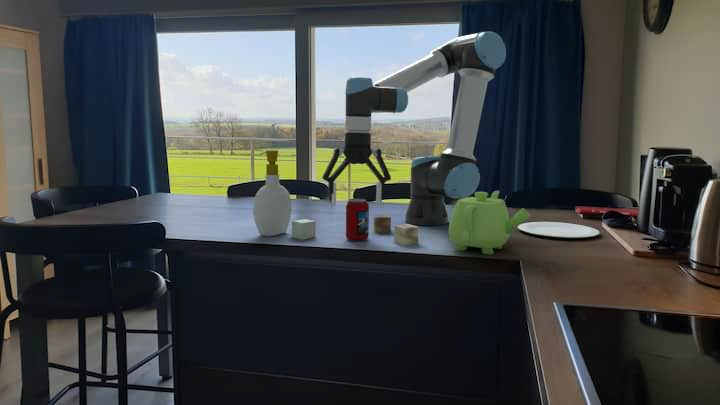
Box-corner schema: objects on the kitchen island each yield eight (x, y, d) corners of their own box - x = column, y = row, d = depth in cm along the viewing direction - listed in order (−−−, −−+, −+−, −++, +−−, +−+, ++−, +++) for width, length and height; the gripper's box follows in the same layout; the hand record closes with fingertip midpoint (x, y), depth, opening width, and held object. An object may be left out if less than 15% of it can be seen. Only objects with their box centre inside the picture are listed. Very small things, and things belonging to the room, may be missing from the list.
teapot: (516, 263, 134) (519, 200, 132) (436, 252, 145) (438, 194, 143) (540, 245, 155) (544, 190, 153) (469, 236, 166) (471, 185, 164)
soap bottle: (277, 228, 175) (276, 148, 171) (298, 232, 170) (297, 149, 166) (244, 236, 163) (243, 150, 159) (266, 240, 158) (264, 151, 154)
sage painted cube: (305, 234, 166) (305, 219, 166) (315, 237, 163) (315, 221, 162) (292, 237, 163) (292, 220, 162) (302, 239, 160) (302, 223, 159)
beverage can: (366, 242, 156) (366, 201, 154) (343, 241, 157) (343, 200, 156) (370, 237, 163) (370, 198, 161) (348, 236, 164) (348, 197, 162)
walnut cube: (388, 229, 176) (388, 214, 175) (390, 232, 171) (390, 217, 170) (373, 229, 175) (373, 214, 175) (375, 232, 171) (375, 217, 170)
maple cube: (408, 240, 160) (408, 224, 159) (418, 243, 156) (418, 226, 155) (394, 242, 157) (394, 225, 157) (403, 245, 153) (404, 228, 152)
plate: (600, 230, 179) (600, 225, 179) (598, 245, 157) (599, 239, 157) (523, 223, 190) (523, 219, 189) (511, 237, 167) (511, 231, 167)
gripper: (395, 132, 162) (392, 202, 165) (313, 130, 156) (312, 203, 159) (403, 133, 155) (400, 205, 158) (317, 131, 149) (316, 206, 152)
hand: (356, 204), depth 158 cm, fingers open, 13 cm apart
